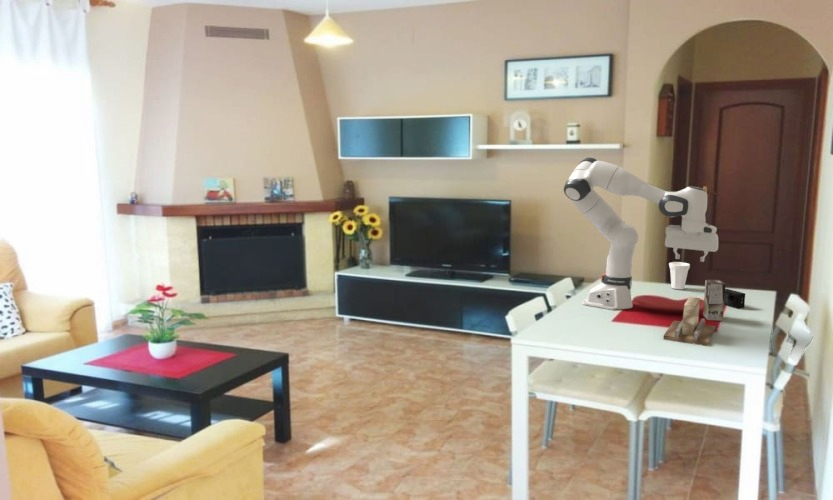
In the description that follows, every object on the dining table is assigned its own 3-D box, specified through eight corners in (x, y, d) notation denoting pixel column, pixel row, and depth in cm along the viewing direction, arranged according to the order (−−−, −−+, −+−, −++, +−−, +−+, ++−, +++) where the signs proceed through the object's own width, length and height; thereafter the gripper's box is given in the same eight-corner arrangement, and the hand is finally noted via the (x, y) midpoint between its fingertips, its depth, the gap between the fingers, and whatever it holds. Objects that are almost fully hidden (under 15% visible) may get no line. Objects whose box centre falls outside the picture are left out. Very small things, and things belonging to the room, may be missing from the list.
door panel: (681, 334, 259) (684, 304, 256) (687, 325, 270) (689, 297, 268) (692, 336, 257) (695, 305, 255) (697, 327, 269) (700, 298, 266)
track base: (663, 339, 257) (664, 329, 257) (673, 324, 278) (674, 314, 277) (708, 345, 250) (708, 335, 249) (715, 329, 270) (716, 320, 269)
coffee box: (723, 321, 283) (726, 284, 280) (707, 320, 284) (710, 283, 281) (718, 315, 292) (721, 279, 289) (702, 314, 293) (705, 278, 290)
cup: (691, 291, 337) (693, 265, 335) (671, 290, 337) (673, 265, 335) (683, 286, 347) (685, 262, 345) (664, 286, 347) (666, 261, 345)
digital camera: (717, 303, 312) (718, 289, 311) (725, 302, 314) (726, 288, 313) (735, 309, 303) (736, 294, 301) (744, 308, 305) (745, 293, 303)
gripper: (664, 225, 271) (661, 258, 274) (719, 229, 262) (715, 264, 264) (667, 223, 277) (664, 256, 279) (720, 228, 267) (717, 261, 270)
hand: (689, 260), depth 272 cm, fingers open, 8 cm apart
